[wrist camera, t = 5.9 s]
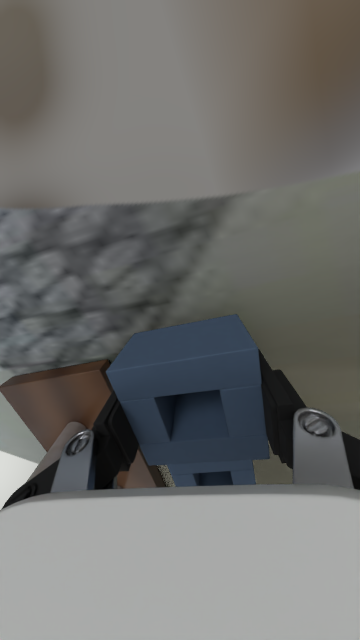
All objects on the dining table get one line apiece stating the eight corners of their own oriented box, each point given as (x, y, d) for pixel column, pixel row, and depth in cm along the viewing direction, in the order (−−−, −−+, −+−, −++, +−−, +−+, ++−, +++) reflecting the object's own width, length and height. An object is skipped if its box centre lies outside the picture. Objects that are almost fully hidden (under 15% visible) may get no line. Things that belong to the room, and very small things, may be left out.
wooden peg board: (107, 359, 16) (47, 437, 9) (171, 499, 23) (163, 596, 17) (12, 376, 17) (-97, 454, 11) (102, 502, 25) (70, 593, 18)
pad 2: (238, 408, 17) (251, 454, 13) (246, 454, 19) (259, 503, 15) (170, 417, 18) (165, 461, 14) (185, 459, 20) (184, 507, 16)
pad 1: (237, 313, 11) (258, 347, 7) (249, 398, 13) (270, 459, 9) (134, 333, 12) (104, 371, 8) (161, 408, 14) (148, 466, 10)
